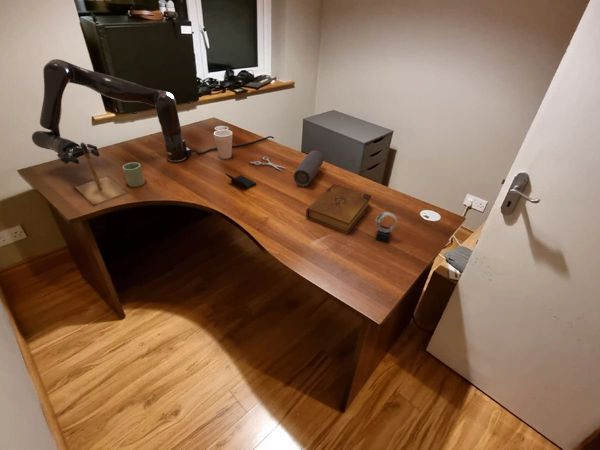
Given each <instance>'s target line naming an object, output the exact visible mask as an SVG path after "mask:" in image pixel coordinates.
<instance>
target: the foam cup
mask: <svg viewBox="0 0 600 450" xmlns="http://www.w3.org/2000/svg"><path fill="white" fill-rule="evenodd" d="M233 135H234V134H233V131H232V130H229V129H218V130H215V131H214V132H213V139H214V141H215V146H216V148H217V149H216V150H217V152H218V156H219V158H220V159H223V160H226V159H230V158H232V156H233V155H232V153H233V147H232V146H233V137H234V136H233Z"/></svg>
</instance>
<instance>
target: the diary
mask: <svg viewBox="0 0 600 450" xmlns="http://www.w3.org/2000/svg"><path fill="white" fill-rule="evenodd" d="M371 198H372V195H371V194H368V193H365V192H362V191H358V190H355V189H353V188H349V187H346V186H342V185H340V184H336V183H333V184H331V185H330V186H329V187H328V188H327V189H325V190H324V192H323V193H322V194H320V196H319V197H318V198H317V199H316V200H314V201H313V202H312V203H311V204H310V205H309V206H308V207H307V208H306V210H305V211H306V212H305V218H306V219H307V220H308V221H311V222H313V223H315V224H318V225H321V226H324V227H326V228H329V229H332V230H334V231H337V232H339V233H343V234H344V235H349V233H350V232H351V231H352V230H353V228H354V227H355V225H356V224H357V223H358V222H359V221H360V219H361V218H362V217H363V215H364V214H365V213H366V212H367V210H368V209H369V208H370V207H371V204H370V203H369V202H370V200H371Z"/></svg>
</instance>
